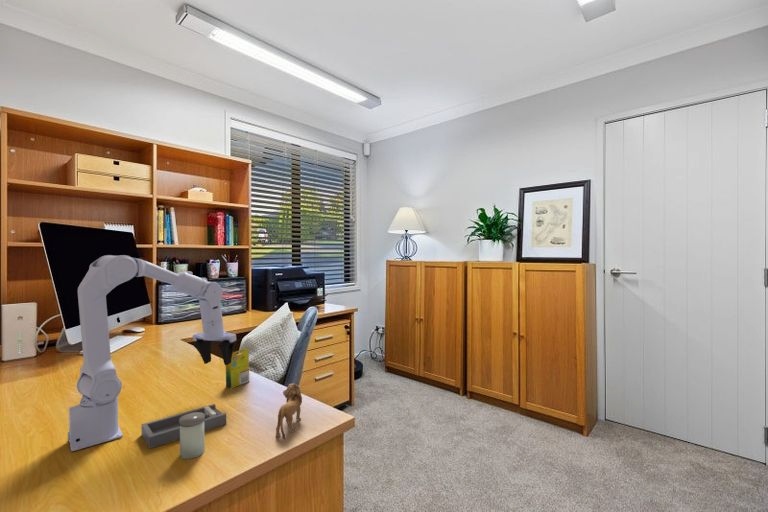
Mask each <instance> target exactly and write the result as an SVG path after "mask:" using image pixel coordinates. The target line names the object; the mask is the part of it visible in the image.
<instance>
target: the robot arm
mask: <svg viewBox="0 0 768 512" xmlns="http://www.w3.org/2000/svg"><path fill="white" fill-rule="evenodd" d="M88 268H89V269H88V271H87V272H86V274H85V276H84V277H83V278H82V281H81V282H80V283H79V286H78V287H77V299H78V301H77V302H78V310H79V312H78V313H79V324H80V334H81V346H82V359H83V363H82V364H81V367H80V369H79V370H80V373H79V378H78V379H77V382H76V389H77V390H76V391H78V393H79V394H80V395H82V397H81V398H80V401H79V404H77V405H73V406H70V407H68V432H67V440H68V441H69V447H70V452H74V451H79V450H81V449H85V448H90V447H92V446H96V445H99V444H102V443H106V442H111V441H113V440H117V439H120V438H122V437H124V434H123V432H122V430H121V428H120V426H119V394H121V391H122V389H123V387H122V386H123V385H122V381H121V379H120V378H119V377H118V375H117V369H116V366H115V365H114V363H113V360H112V358H111V357H112V355H111V345H110V344H111V343H110V342H111V341H110V332H109V319H108V308H107V307H108V305H107V295H108V294H109V293H111V291H112V290H113V289H115V288H116V287H117V286H119V285H121V284H123V283H125V282H128V281H131V280H132V279H133V278H134V277H136V278H139V277H140V278H141V277H146V278H150V279H154V280H156V281H160V282H162V283H163V282H164V283H167V284H170V285H171V287H172V290H174V291H176V292H179V293H182V294H185V295H187V296H188V295H189V296H191V297H194V298H195V299H197V300H198V302H199V311H200V318H201V325H202V332H196V333H194V334H192V339H193V341H194V343H193V345H192V346H193V348H195V349H196V350H197V352H198V353H199V355H200V357H201V359H202V361H203V364H209V363H211V362H212V353H211V352H212V351H211V349H212V341H214V342H220V343H218V344H217V345H218V348H219V349H220V350H219V351H220V353H221V355H222V361H223V364H224V366H226V365H228V364H230V363H231V358H232V353H233V352H234V348H235V346H236V344H237V342H238V341H237V334H236V333H230V332H227V331H226V330H225V328H224V321H223V313H222V306H221V305H222V304H221V302H222V297H223V294H224V289H223V288H222V286H221V285H220V284H219V283H217V282H215V281H208V278H206V277H199V276H196V275H193V272H192V271H189V270H186V271H181V272H178V273H176V272H174V271H171V270H169V269H166V268H164V267H162V266H159V265H156V264H154V263H153V262H149V261H147V260H143V259H141V258H136V257H131V256H130V255H125V254H123V255H122V254H121V255H112V254H107V255H103V256H100V257H99V258H98V259H96V260H94V261H93V262H92V263H90V265H89V267H88Z"/></svg>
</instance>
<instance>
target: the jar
mask: <svg viewBox="0 0 768 512" xmlns="http://www.w3.org/2000/svg"><path fill="white" fill-rule="evenodd" d="M204 420H205V414H204V413H202V412H194V413H189V414H186V415H184V416H182V417H180V419H179V425H180V439H179V456H180V458H181V459H183V460H191V459H194V458H198V457H200V456H201V455H203V454H204V452H205V451H206V449H205V444H206V443H205V431H204Z"/></svg>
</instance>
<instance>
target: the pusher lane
mask: <svg viewBox="0 0 768 512" xmlns="http://www.w3.org/2000/svg"><path fill="white" fill-rule="evenodd" d="M207 406H209V407H210V408H211V409H212V410H213V411H214V412H215V413H216V416H213V417H209V418H205V420H204V432H206V431H210V430H213V429H216V428H218V427H221V426H224V425H227V413H226V412H223V413H222V412H221V411H220V410H219V409H217V407H216V404H215V403H213V404H209V405H205V406H202V407H198V408H195V409H191V410H188V411H183V412H180V413H178V414H174V415H169V416H166V417H163V418H159V419H155V420H152V421H149V422H145V423H141V436H142V438H143V440H144V442H145V443H146V445H147V447H148V448H149V450H150V449H153V448H156V447H160V446H163V445H167V444H169V443H172V442H175V441H178V440H179V441H180V425H179V419H180V417H182V416H184V415H186V414H189V413H194V412H202V413H204V407H207Z"/></svg>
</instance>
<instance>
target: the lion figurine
mask: <svg viewBox="0 0 768 512" xmlns="http://www.w3.org/2000/svg"><path fill="white" fill-rule="evenodd" d="M282 393H283V396H284V398H286V403H284V404H282V405H281V406H280V408H279V410H278V415H277V423H276V427H275V437H276V438H279V437H282V439H283V440H285V439H286V434H285V431H284V421H283V420H284V418H285V421H286V422H287V423H288V429H289V431H290V432H291V433H294V432H296V430H297V429H296V428H295V427H293V420H294V419H293V418H294V417H293V416H294V415H295V414H296V417H295V419H296V421H297V422H298V421H299V422H300V421H301V420H302V418H301V417H300V416H301V410H302V409H301V405H302V403H303V397H302V392H301V389H300V386H299V385H298V384H296V383H289V384H288V386H287V388H286V389H285V390H283V392H282Z"/></svg>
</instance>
